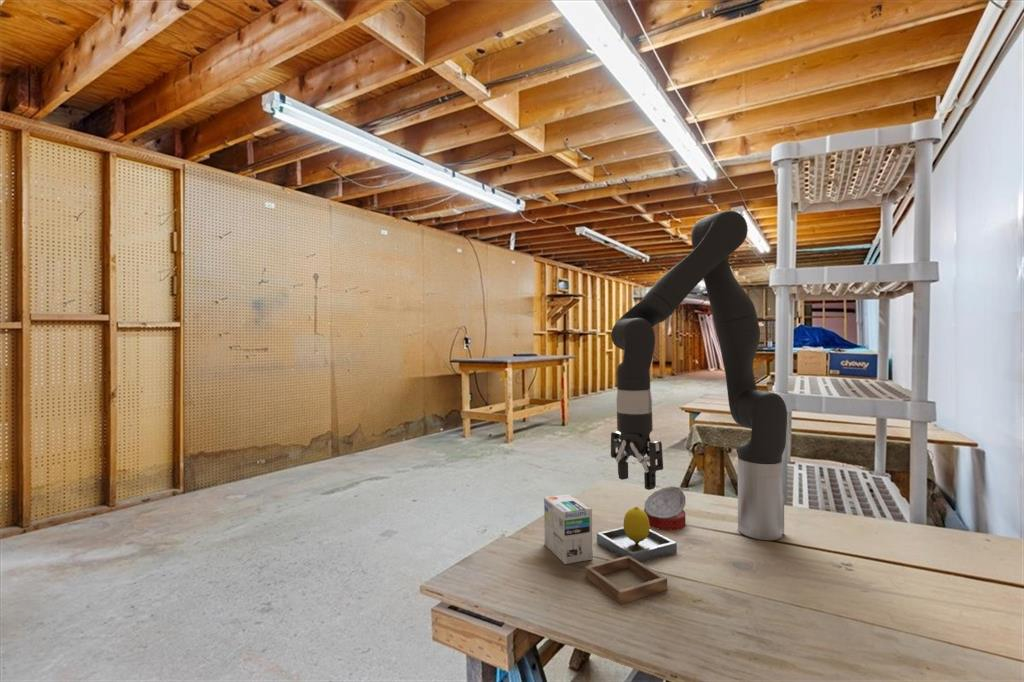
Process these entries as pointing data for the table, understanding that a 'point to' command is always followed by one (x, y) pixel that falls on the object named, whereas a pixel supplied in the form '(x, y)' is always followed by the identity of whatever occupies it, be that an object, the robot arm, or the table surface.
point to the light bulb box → (568, 528)
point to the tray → (636, 545)
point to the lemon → (636, 524)
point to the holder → (631, 593)
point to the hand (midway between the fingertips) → (636, 483)
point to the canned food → (666, 509)
